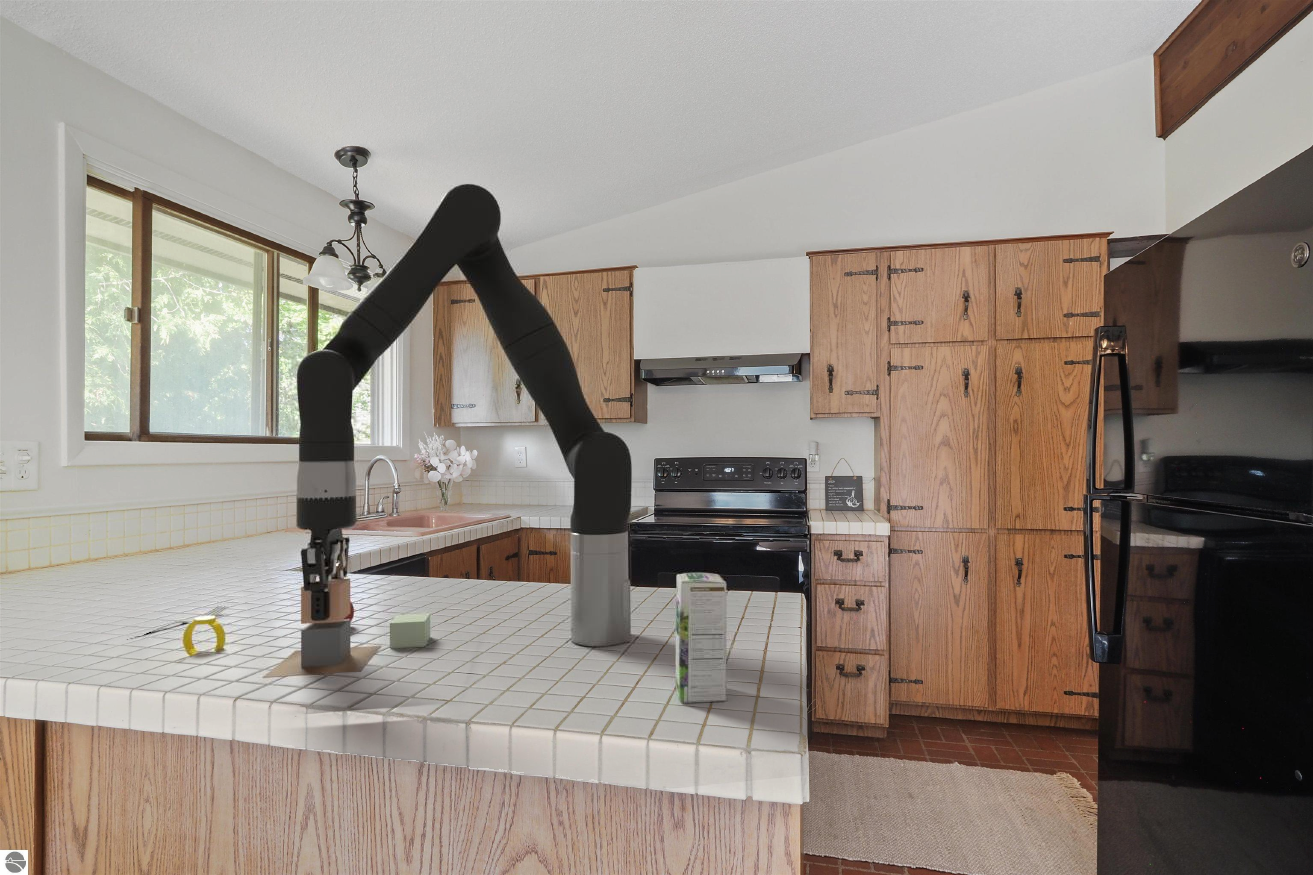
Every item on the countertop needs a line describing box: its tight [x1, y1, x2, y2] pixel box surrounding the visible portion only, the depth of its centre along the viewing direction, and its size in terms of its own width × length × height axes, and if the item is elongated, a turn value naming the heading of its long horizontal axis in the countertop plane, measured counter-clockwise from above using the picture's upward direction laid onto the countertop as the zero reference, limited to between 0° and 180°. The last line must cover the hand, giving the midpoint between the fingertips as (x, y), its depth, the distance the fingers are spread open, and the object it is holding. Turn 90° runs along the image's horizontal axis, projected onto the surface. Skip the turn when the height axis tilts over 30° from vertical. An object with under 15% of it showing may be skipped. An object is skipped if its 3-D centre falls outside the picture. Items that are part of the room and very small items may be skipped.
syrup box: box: [675, 572, 727, 704], centre depth 83 cm, size 6×6×14 cm
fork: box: [141, 605, 229, 634], centre depth 116 cm, size 3×24×2 cm, turn 166°
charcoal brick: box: [300, 619, 351, 667], centre depth 94 cm, size 5×5×5 cm
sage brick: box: [389, 613, 431, 649], centre depth 102 cm, size 5×5×5 cm
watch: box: [182, 615, 226, 657], centre depth 100 cm, size 6×3×6 cm, turn 82°
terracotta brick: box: [300, 578, 351, 625], centre depth 94 cm, size 5×5×5 cm
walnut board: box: [262, 645, 382, 679], centre depth 94 cm, size 12×12×1 cm
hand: (326, 614), depth 94 cm, fingers closed on terracotta brick, 5 cm apart
